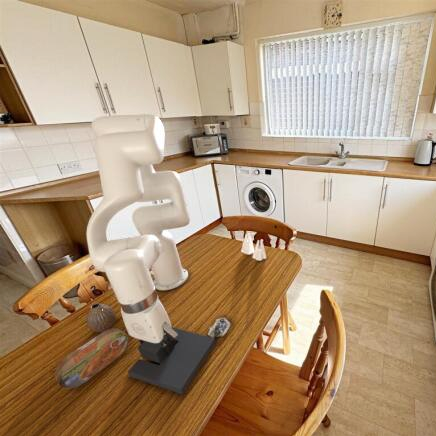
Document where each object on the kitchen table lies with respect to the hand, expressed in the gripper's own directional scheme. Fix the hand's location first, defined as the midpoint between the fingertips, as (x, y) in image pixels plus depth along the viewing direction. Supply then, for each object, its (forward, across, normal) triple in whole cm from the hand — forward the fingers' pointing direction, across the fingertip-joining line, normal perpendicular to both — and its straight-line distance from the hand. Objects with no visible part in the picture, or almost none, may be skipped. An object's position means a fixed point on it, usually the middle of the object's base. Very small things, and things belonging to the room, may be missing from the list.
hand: (159, 349), depth 64 cm
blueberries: (+2, +11, +12) cm, 16 cm away
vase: (+2, -24, +3) cm, 25 cm away
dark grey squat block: (+1, 0, 0) cm, 1 cm away
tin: (+2, -13, -7) cm, 15 cm away
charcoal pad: (+2, +5, 0) cm, 5 cm away
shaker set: (+2, +5, +50) cm, 50 cm away
